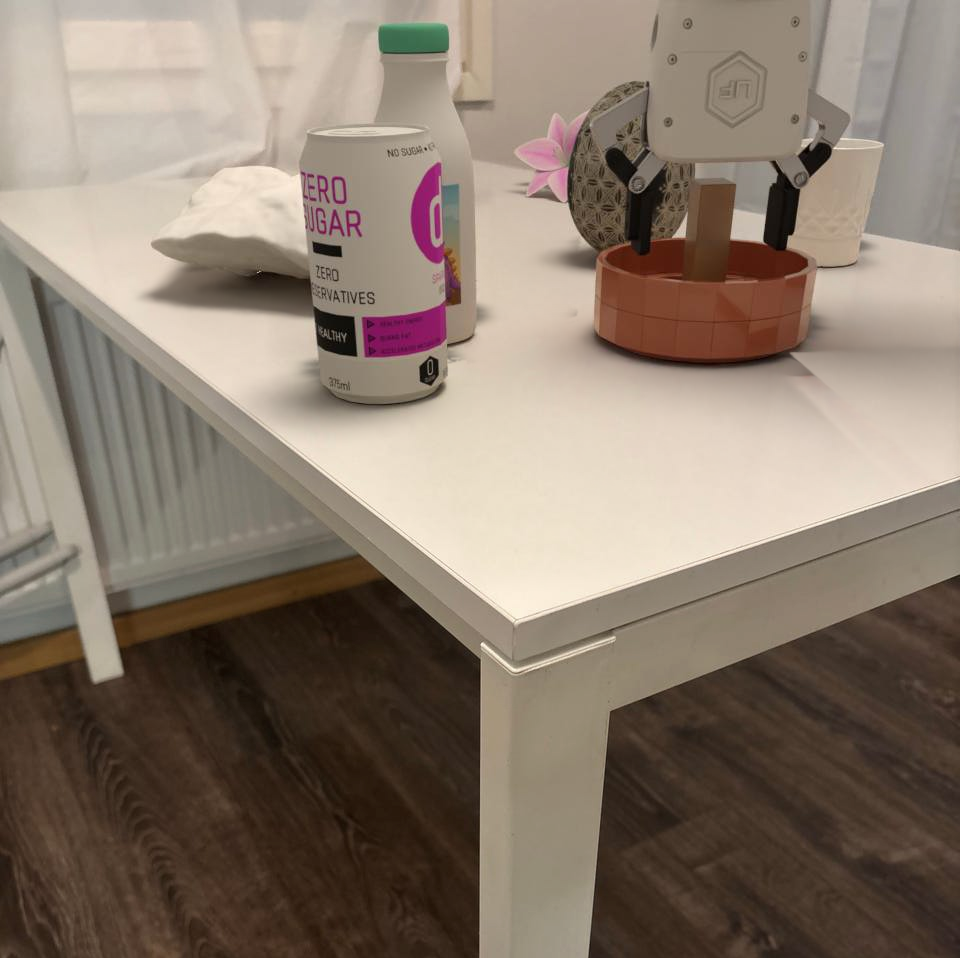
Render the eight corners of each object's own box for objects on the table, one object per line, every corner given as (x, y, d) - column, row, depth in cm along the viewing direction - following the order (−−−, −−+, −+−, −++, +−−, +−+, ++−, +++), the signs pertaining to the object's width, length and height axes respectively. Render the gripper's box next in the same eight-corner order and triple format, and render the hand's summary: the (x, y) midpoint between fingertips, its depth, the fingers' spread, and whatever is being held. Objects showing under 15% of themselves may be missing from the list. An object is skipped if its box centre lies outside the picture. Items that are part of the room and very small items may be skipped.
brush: (738, 320, 76) (755, 175, 71) (755, 335, 73) (775, 184, 67) (643, 323, 76) (654, 178, 70) (656, 339, 72) (668, 187, 67)
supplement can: (460, 370, 68) (454, 122, 61) (428, 411, 62) (416, 138, 54) (346, 364, 70) (326, 121, 62) (302, 403, 63) (273, 137, 55)
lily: (511, 197, 135) (493, 131, 127) (587, 155, 136) (574, 87, 128) (553, 241, 128) (537, 174, 121) (633, 196, 129) (623, 127, 121)
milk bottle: (406, 316, 81) (391, 22, 70) (493, 327, 78) (492, 21, 67) (354, 341, 75) (330, 24, 64) (447, 354, 72) (437, 24, 61)
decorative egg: (550, 249, 102) (554, 79, 94) (661, 243, 103) (674, 75, 96) (584, 275, 92) (592, 87, 84) (706, 268, 94) (725, 83, 86)
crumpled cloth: (204, 322, 75) (204, 188, 70) (105, 238, 101) (100, 137, 96) (480, 326, 86) (495, 211, 82) (327, 250, 112) (332, 160, 107)
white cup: (763, 262, 95) (779, 145, 90) (793, 248, 101) (809, 136, 95) (847, 272, 91) (868, 150, 86) (874, 256, 97) (895, 140, 92)
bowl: (766, 307, 82) (775, 234, 79) (836, 363, 69) (851, 279, 66) (579, 313, 81) (582, 240, 78) (615, 371, 68) (620, 287, 65)
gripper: (608, -43, 59) (595, 265, 68) (898, -48, 60) (846, 256, 69) (587, -38, 65) (577, 242, 74) (849, -43, 66) (808, 235, 75)
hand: (707, 249), depth 72 cm, fingers open, 9 cm apart
